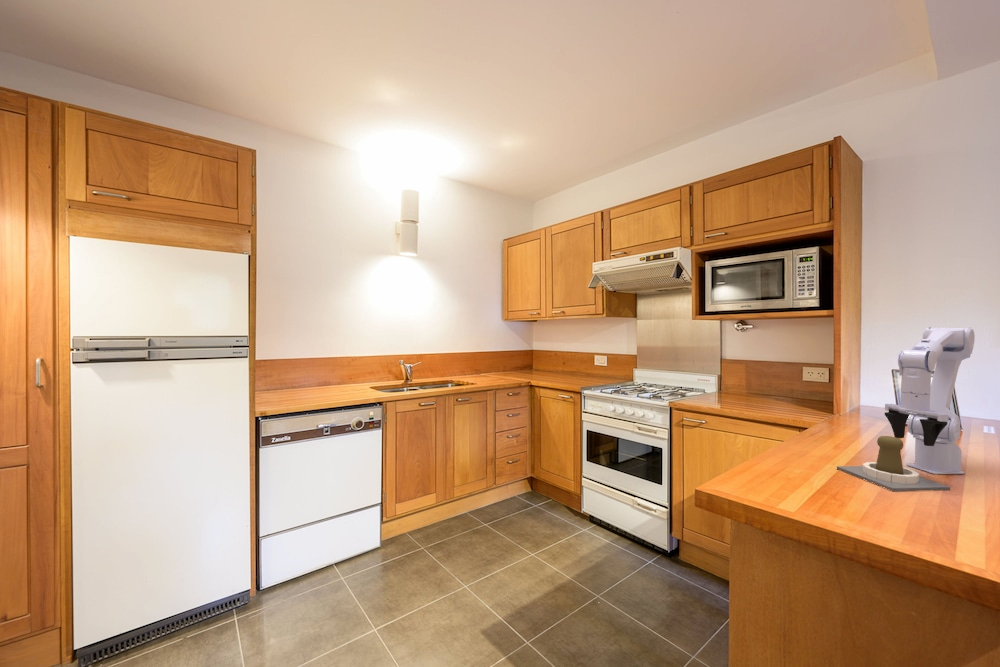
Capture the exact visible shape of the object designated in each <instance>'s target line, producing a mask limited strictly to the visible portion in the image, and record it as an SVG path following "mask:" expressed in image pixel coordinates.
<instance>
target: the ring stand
mask: <svg viewBox="0 0 1000 667" xmlns="http://www.w3.org/2000/svg"><path fill="white" fill-rule="evenodd" d="M876 463H877V461H867V462H864V463H862V465H845V466H844V465H843V466H842V465H838V466H836V470H838V471H840V470H841V471H840V472H843V473H846V474H849V475H850V474H851V476H852V477H855V476H856V478H858V477H859V479H860V478H862V479H861V480H863V479H865V480H867V481H866V482H868V481H870V482H873V483H875V484H878V485H880V486H882V487H881V488H883V487H885V488H887V489H886V490H888V489H890V490H892V491H891V492H916V491H915V490H933V491H951V486H948V485H945V484H943V483H940V482H937V481H934V480H931V479H928V478H925V477H923V476H921V475H920V473H919V472H917V471H915V470H914V469H911V468H908V467H905V466H903V472H904V475H900V474H893V473H888V472H883V471H879V470H876V469H875V468H876ZM865 480H864V481H865ZM870 482H869V483H870ZM873 483H872V484H873ZM875 484H874V485H875ZM878 485H877V486H878ZM880 486H879V487H880ZM885 488H884V489H885ZM890 490H889V491H890Z"/></svg>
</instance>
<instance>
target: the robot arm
mask: <svg viewBox="0 0 1000 667" xmlns="http://www.w3.org/2000/svg"><path fill="white" fill-rule="evenodd" d="M975 336H976V335H975V331H974V329H972V327H969V326H967V327H932V326H928V327H926V328H924V330H923V332H922V339H921V340H919V341H917V342H916V343H915V344H914V345H913V346H912V347H911V348H910V349H904V350H902V351H900V352H899V353H898V357H897V365H898V370H899V372H898V373H899V376H901V381H900V384H901V385H900V404H896V403H894V404H893V403H885V404H884V410H885V411H887V412H884V416H885V417H886V419H887V420H888V422H889V424H890V427H891V430H892V432H893V437H896V438H899V439H904V438H905V434H906V433H905V432H906V425H907V431H908V432H909V433H910V435H912V438H914V439H915V444H914V449H915V450H914V463H913V462H910V463H909V462H908V463H907V462H906V463H905V466H909V467H911V468H914V469H916V470H921V471H922V472H923V471H924V472H926V473H930V474H933V475H957V474H958V475H960V474H963V475H964V474H965V473H966V472H965V471H962V453H963V452H962V450H961V447H960V445H959V444H958V443H956V442H957V441H959V438H960V437H961V436H960V435H961V423H962V422H961V419H960V417H959V416H958V415H957V414H956V413H955V412H953V411H952V410H950V407H951V402H952V398H953V394H954V389H955V385H956V380H957V376H958V372H959V368H960V366H961V363H962V361H964V360H966V359H967V360H968V359H969V358H971V355H972V354H973V349H974V346H975ZM932 372H934V373H933V376H932Z"/></svg>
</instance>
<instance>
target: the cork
mask: <svg viewBox="0 0 1000 667" xmlns="http://www.w3.org/2000/svg"><path fill="white" fill-rule="evenodd" d="M876 443H877V446H878V447H879V449H878V454H877V457H876V458H877V459H876V462H877V463H876V468H875V469H876V470H879V471H883V472H888V473H893V474H900V475H904V472H903V467H904V466H903V461H902V454H901V450H902V449H903V448H904V441H902V439H901V438H896V437H895V436H892V435H891V436H890V435H880V436H879V437H878V438H877V439H876Z"/></svg>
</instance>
